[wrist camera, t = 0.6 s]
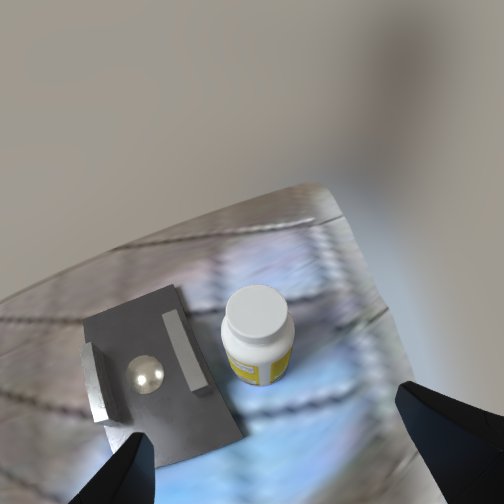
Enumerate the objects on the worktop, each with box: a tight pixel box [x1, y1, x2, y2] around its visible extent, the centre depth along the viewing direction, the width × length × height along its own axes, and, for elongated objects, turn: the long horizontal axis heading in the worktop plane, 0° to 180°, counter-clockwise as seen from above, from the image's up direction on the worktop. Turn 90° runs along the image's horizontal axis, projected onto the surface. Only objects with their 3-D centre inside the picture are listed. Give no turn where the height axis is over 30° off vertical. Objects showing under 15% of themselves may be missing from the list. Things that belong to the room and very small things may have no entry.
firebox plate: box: [79, 284, 244, 468], centre depth 22 cm, size 18×12×3 cm, turn 27°
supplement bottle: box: [221, 284, 295, 386], centre depth 20 cm, size 5×5×10 cm
